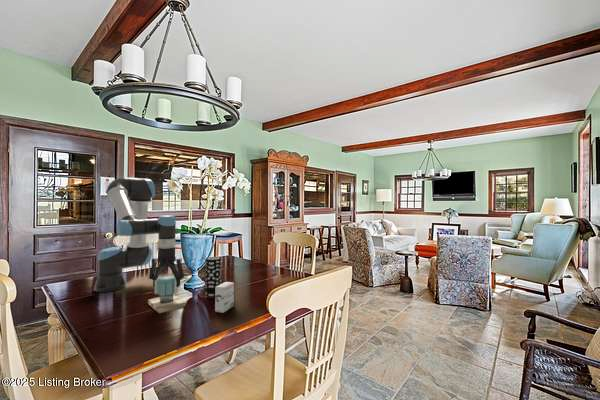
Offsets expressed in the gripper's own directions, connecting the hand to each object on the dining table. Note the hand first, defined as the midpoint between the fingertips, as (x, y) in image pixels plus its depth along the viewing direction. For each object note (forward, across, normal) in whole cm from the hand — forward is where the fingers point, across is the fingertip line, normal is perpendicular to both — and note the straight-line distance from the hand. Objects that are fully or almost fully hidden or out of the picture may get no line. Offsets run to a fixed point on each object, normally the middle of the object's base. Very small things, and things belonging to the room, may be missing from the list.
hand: (166, 293), depth 135 cm
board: (+6, 0, 0) cm, 6 cm away
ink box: (+6, +30, -4) cm, 31 cm away
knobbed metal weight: (+4, 0, 0) cm, 4 cm away
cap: (0, 0, 0) cm, 0 cm away
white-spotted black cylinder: (+6, +18, +14) cm, 24 cm away
